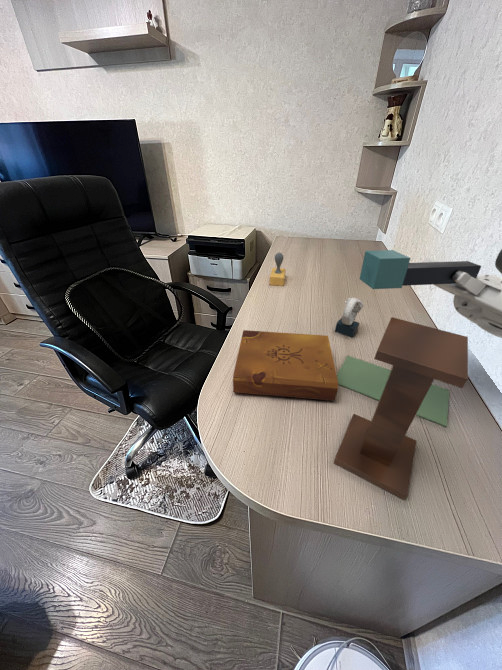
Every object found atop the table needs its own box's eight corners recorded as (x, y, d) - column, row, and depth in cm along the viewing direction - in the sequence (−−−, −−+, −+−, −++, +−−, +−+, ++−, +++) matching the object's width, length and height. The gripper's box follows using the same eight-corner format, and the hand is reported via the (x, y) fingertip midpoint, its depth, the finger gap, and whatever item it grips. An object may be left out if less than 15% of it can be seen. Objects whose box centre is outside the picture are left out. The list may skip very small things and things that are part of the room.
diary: (233, 395, 64) (232, 377, 61) (243, 346, 80) (243, 330, 76) (334, 403, 62) (339, 384, 59) (324, 351, 78) (328, 334, 74)
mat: (448, 391, 65) (449, 389, 65) (446, 427, 57) (446, 426, 57) (347, 356, 76) (347, 355, 76) (332, 382, 68) (332, 381, 67)
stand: (414, 445, 54) (476, 335, 39) (404, 500, 45) (479, 388, 31) (352, 417, 59) (385, 312, 44) (333, 463, 51) (367, 351, 36)
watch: (359, 328, 87) (367, 297, 81) (350, 340, 82) (358, 308, 76) (342, 322, 90) (349, 292, 84) (332, 334, 85) (338, 302, 78)
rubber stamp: (283, 286, 113) (285, 257, 106) (269, 285, 114) (270, 256, 107) (285, 276, 121) (287, 249, 114) (271, 275, 122) (273, 248, 115)
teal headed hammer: (479, 285, 47) (492, 255, 45) (372, 289, 45) (380, 258, 43) (457, 275, 51) (467, 248, 49) (359, 279, 49) (365, 250, 47)
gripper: (450, 267, 61) (414, 238, 55) (556, 309, 45) (523, 275, 38) (429, 291, 64) (393, 267, 57) (523, 339, 47) (487, 313, 41)
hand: (446, 270), depth 48 cm, fingers closed on teal headed hammer, 3 cm apart
